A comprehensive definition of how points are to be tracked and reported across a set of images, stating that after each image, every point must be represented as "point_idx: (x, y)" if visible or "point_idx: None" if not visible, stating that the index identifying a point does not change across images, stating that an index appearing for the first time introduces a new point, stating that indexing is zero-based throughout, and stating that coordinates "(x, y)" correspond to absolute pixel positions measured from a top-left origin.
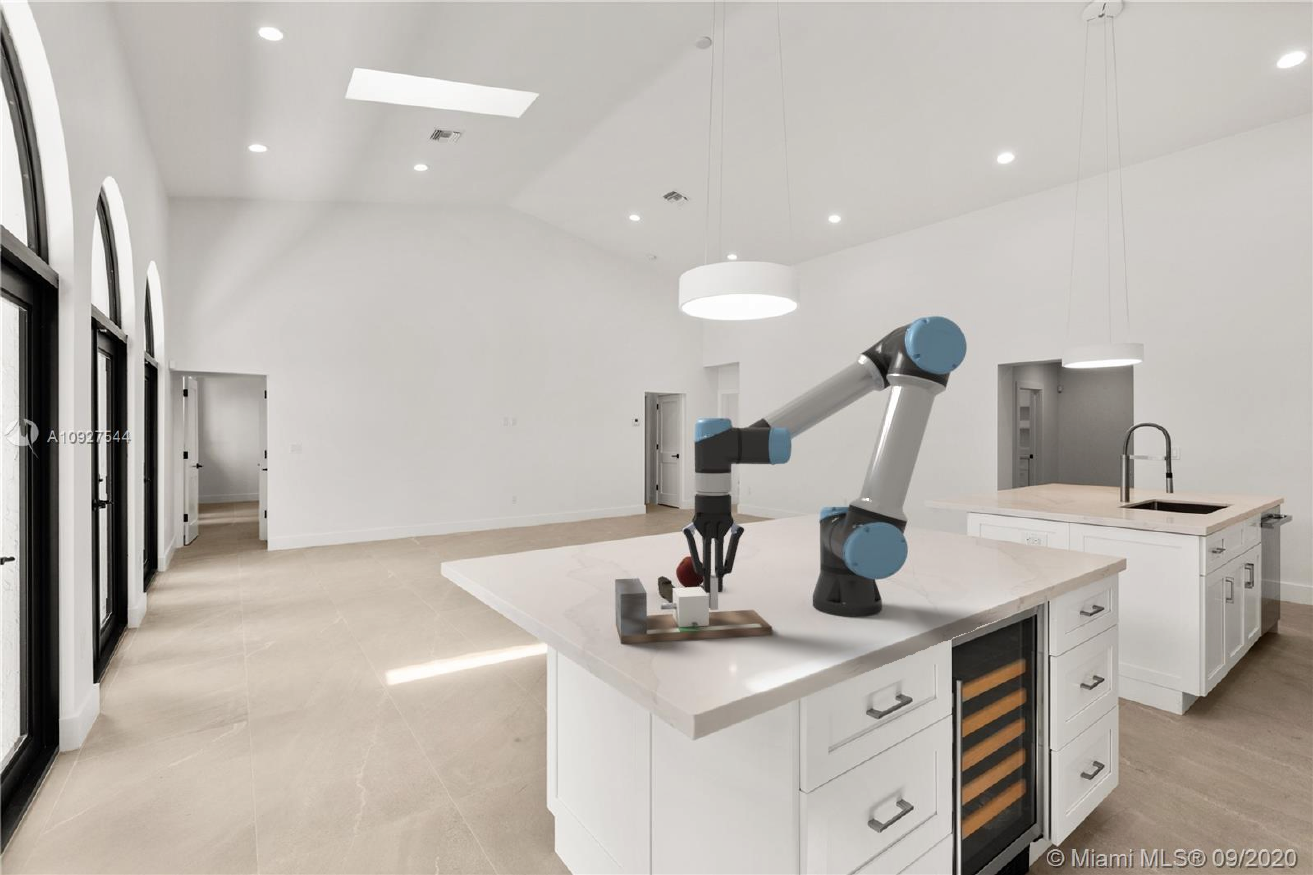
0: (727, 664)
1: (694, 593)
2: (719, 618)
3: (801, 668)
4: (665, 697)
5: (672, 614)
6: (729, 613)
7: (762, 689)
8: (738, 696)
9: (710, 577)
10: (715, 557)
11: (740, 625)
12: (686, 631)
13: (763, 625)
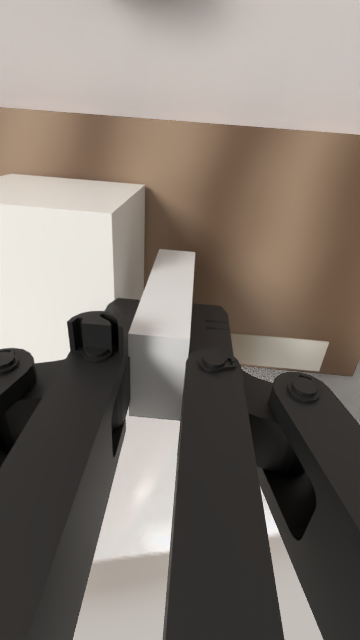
0: (137, 477)
1: (49, 348)
2: (215, 240)
3: (270, 519)
4: None
5: (10, 115)
6: (294, 176)
7: (163, 549)
8: (120, 554)
9: (129, 403)
10: (173, 520)
11: (255, 343)
12: None
13: (335, 357)
